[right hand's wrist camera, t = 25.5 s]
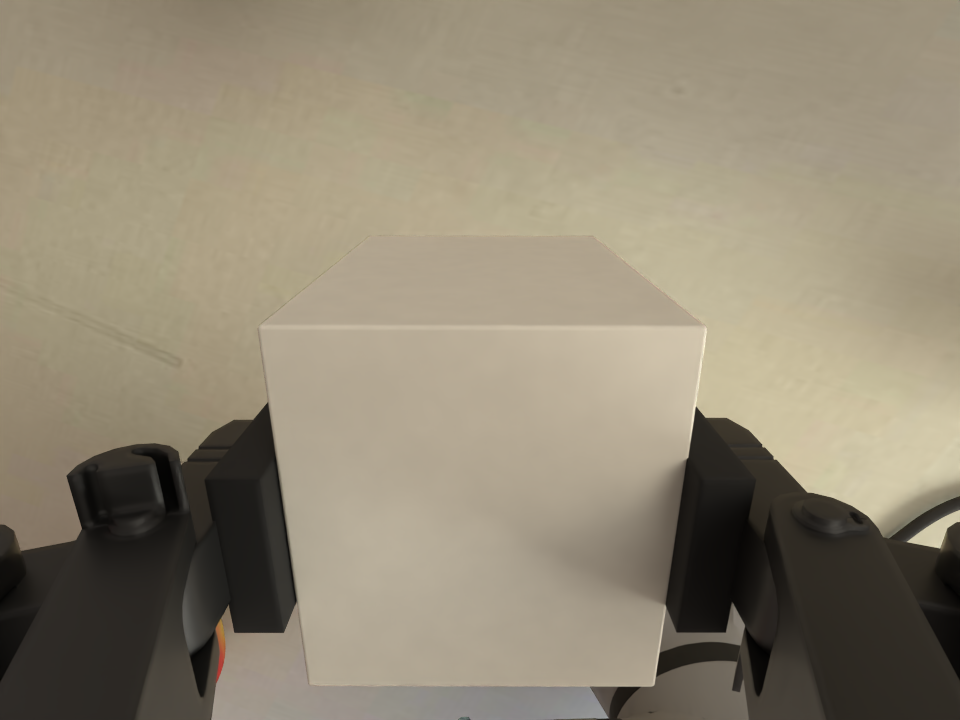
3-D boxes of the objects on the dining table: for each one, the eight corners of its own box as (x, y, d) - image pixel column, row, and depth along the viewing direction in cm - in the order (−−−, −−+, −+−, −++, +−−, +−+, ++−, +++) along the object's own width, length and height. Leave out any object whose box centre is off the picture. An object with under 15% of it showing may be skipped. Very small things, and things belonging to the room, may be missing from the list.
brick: (382, 451, 17) (307, 687, 10) (368, 235, 15) (254, 325, 8) (579, 452, 17) (655, 688, 10) (594, 235, 15) (709, 325, 8)
